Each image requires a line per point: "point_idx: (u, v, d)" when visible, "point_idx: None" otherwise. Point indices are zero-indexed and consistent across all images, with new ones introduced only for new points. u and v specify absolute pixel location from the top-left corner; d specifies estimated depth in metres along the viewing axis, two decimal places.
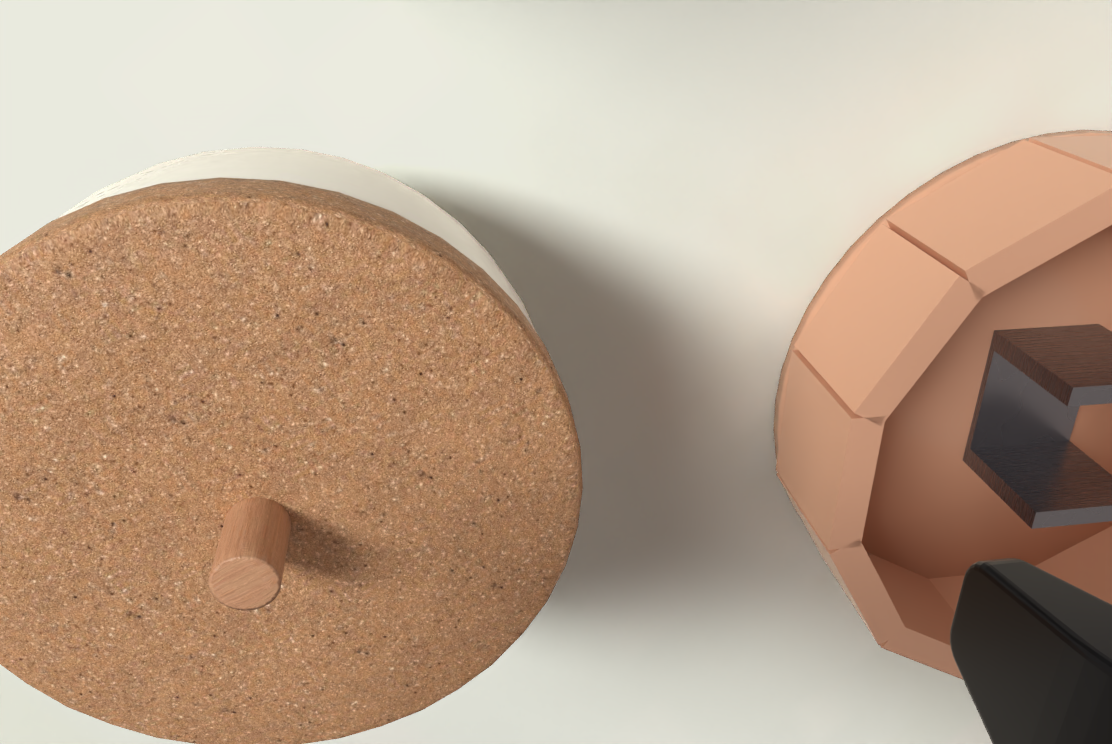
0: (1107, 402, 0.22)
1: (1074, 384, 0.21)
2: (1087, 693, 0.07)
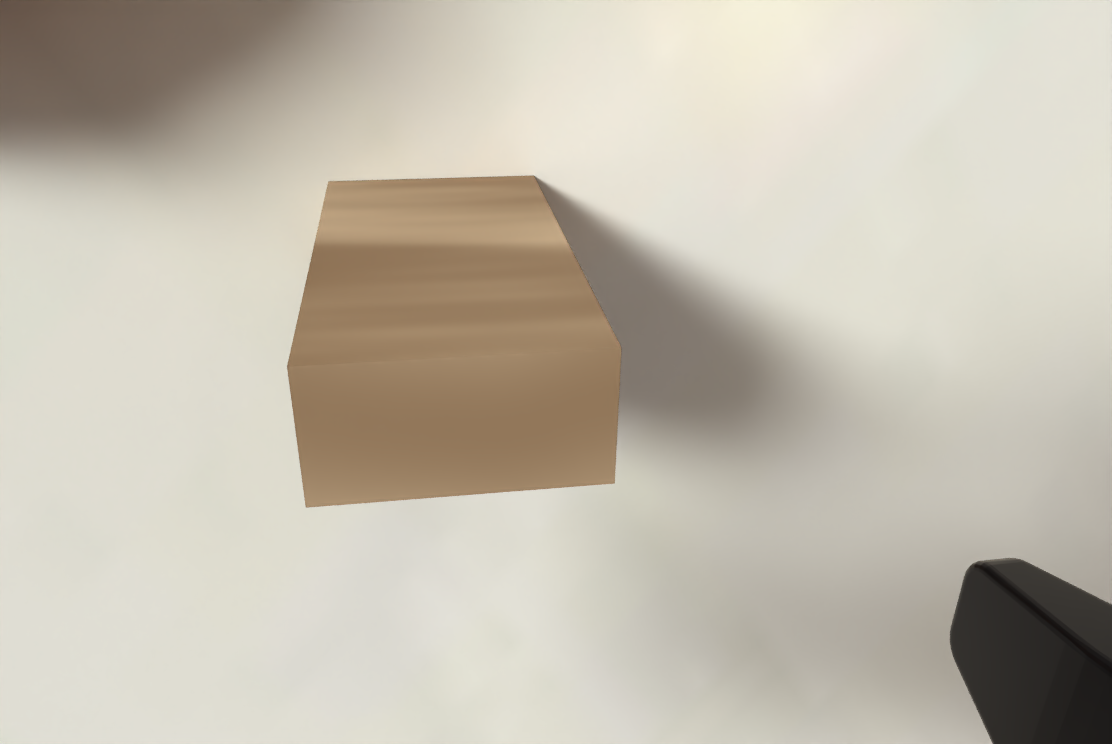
0: None
1: None
2: (1086, 693, 0.07)
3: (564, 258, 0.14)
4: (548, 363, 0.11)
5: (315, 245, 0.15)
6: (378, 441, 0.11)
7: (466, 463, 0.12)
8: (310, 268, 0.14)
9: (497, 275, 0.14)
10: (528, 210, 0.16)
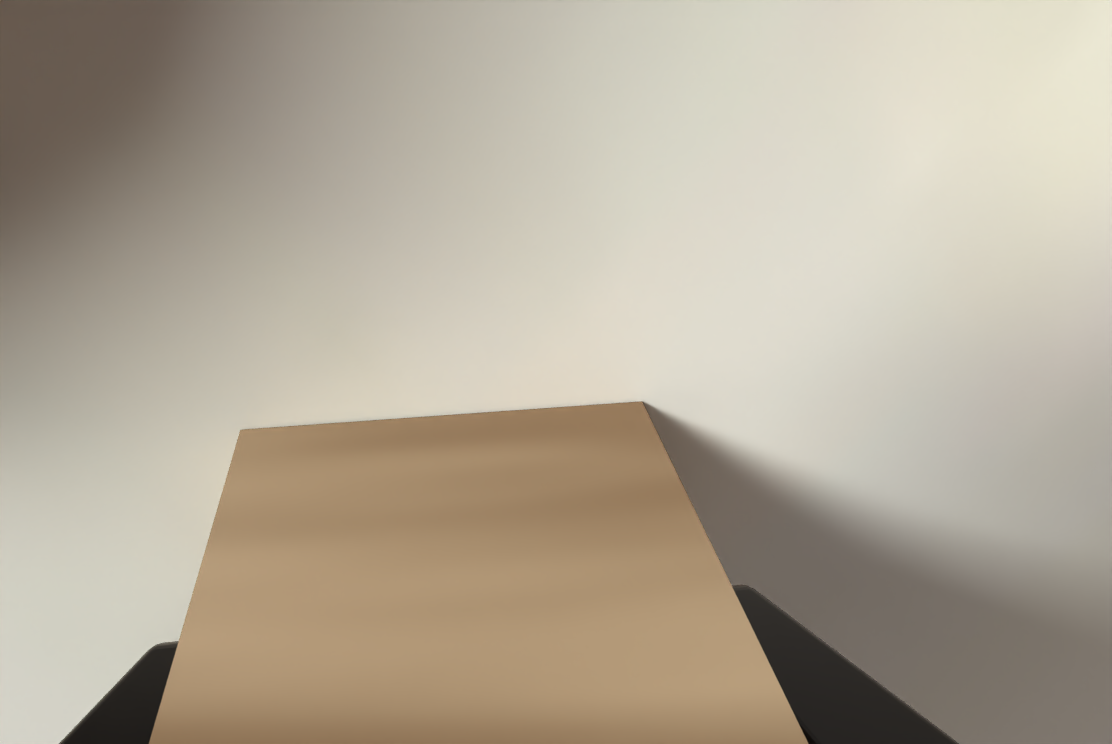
0: None
1: None
2: None
3: None
4: None
5: (154, 736, 0.06)
6: None
7: None
8: None
9: None
10: (658, 538, 0.07)
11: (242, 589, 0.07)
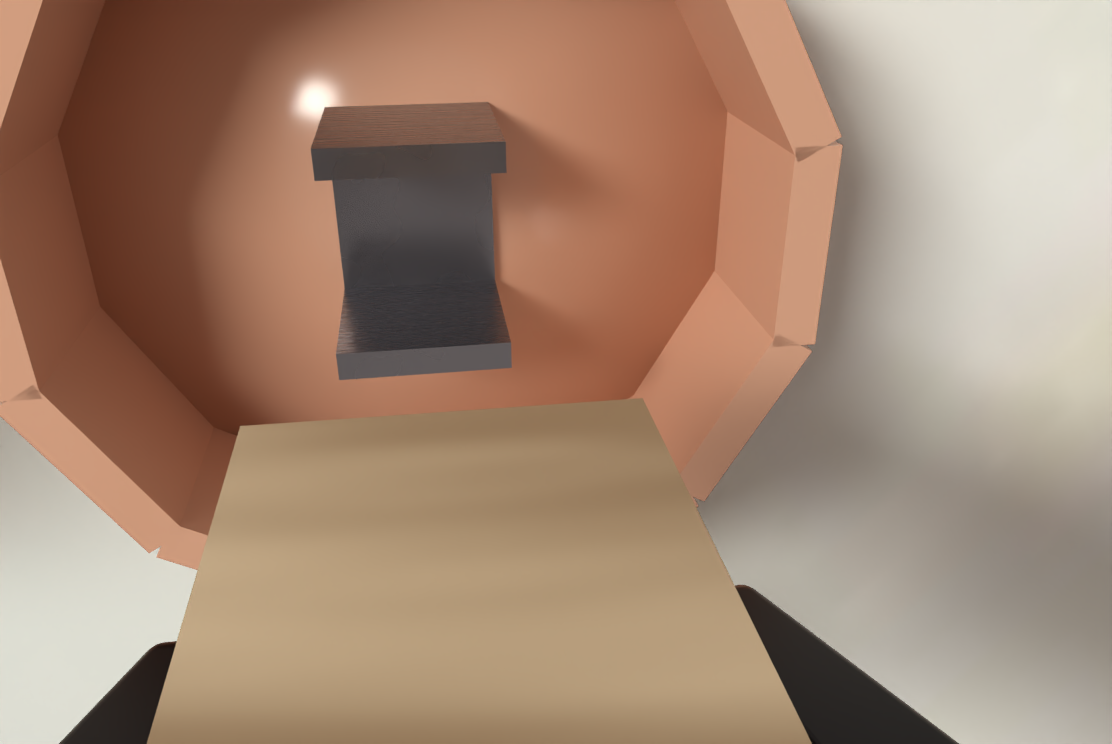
0: (384, 177, 0.15)
1: (321, 146, 0.14)
2: None
3: None
4: None
5: (153, 731, 0.06)
6: None
7: None
8: None
9: None
10: (659, 533, 0.07)
11: (242, 584, 0.07)
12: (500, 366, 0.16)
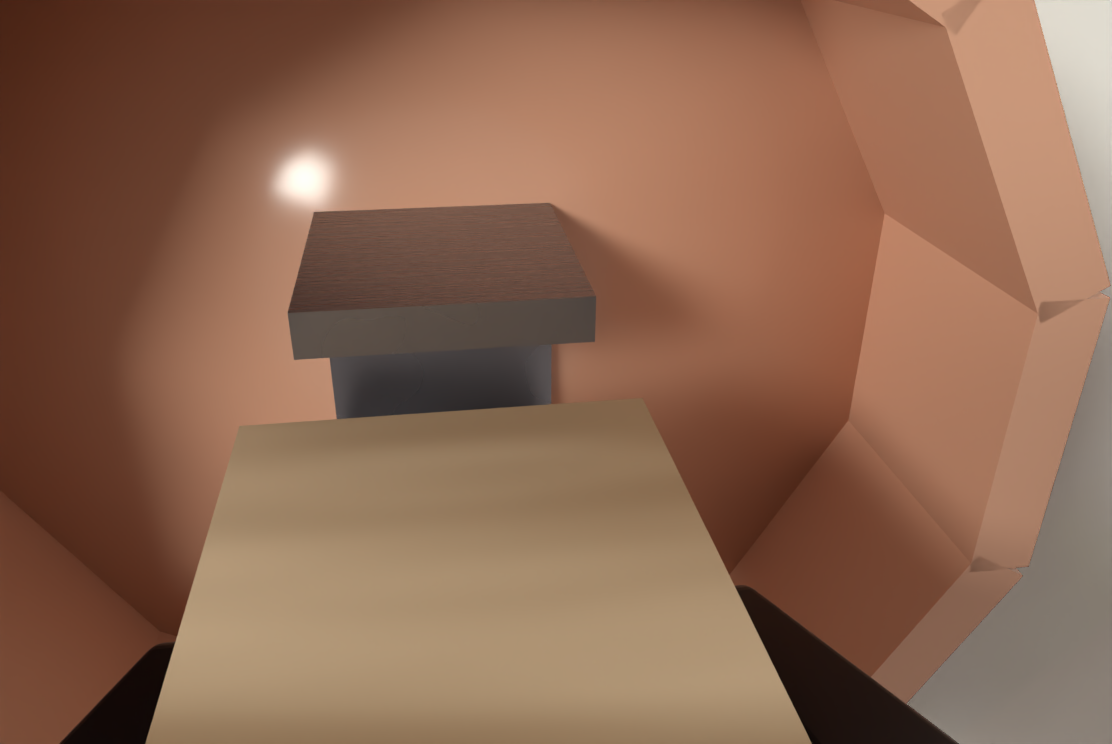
0: (405, 351, 0.09)
1: (304, 306, 0.09)
2: None
3: None
4: None
5: (152, 731, 0.06)
6: None
7: None
8: None
9: None
10: (660, 534, 0.07)
11: (241, 585, 0.07)
12: None
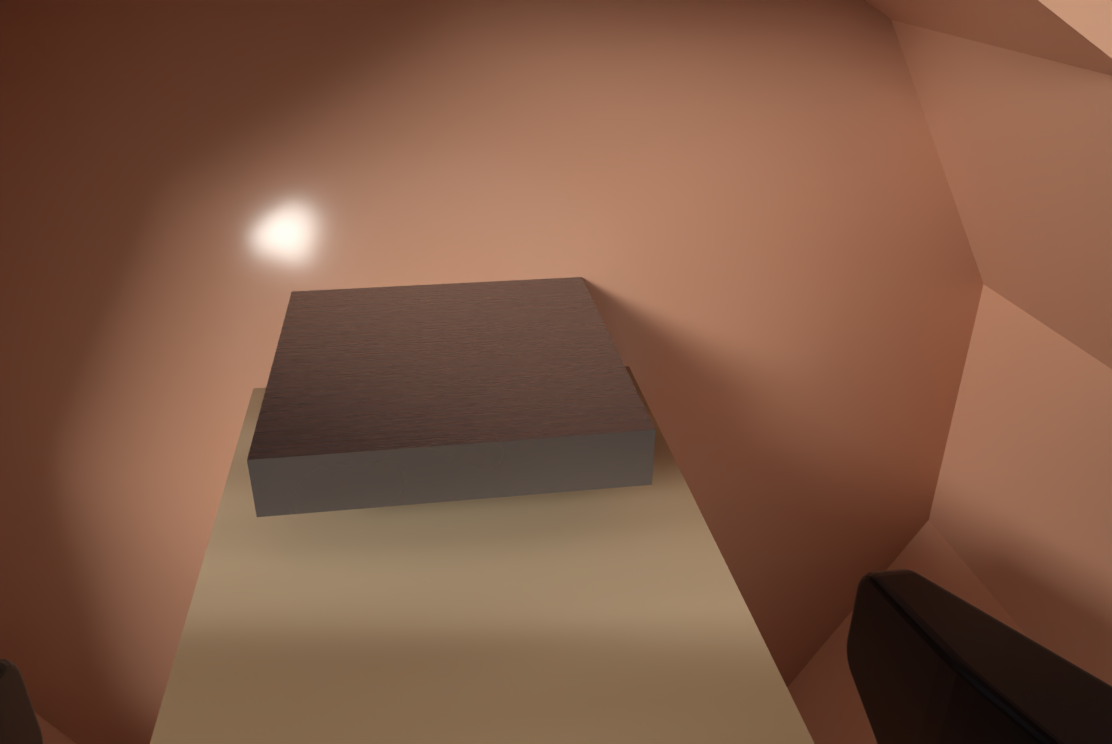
0: (403, 500, 0.07)
1: (270, 448, 0.07)
2: (958, 709, 0.07)
3: (764, 695, 0.06)
4: None
5: (182, 642, 0.06)
6: None
7: None
8: None
9: None
10: None
11: (258, 523, 0.08)
12: None
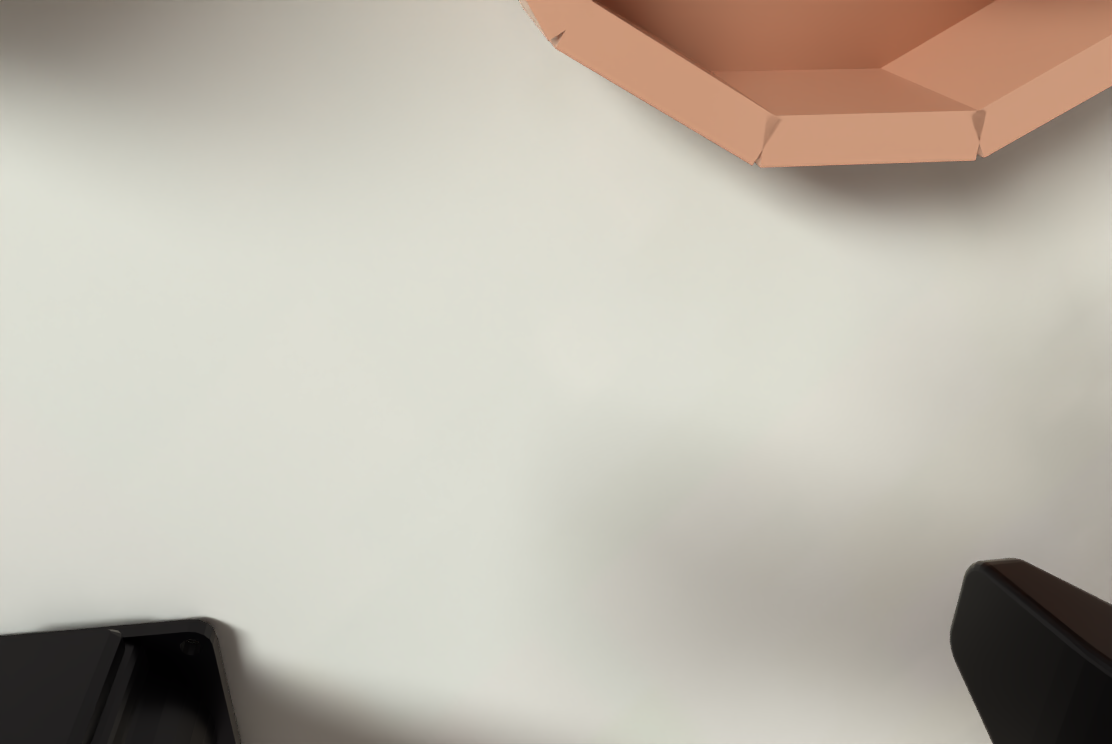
0: None
1: None
2: (1087, 693, 0.07)
3: None
4: None
5: None
6: None
7: None
8: None
9: None
10: None
11: None
12: None
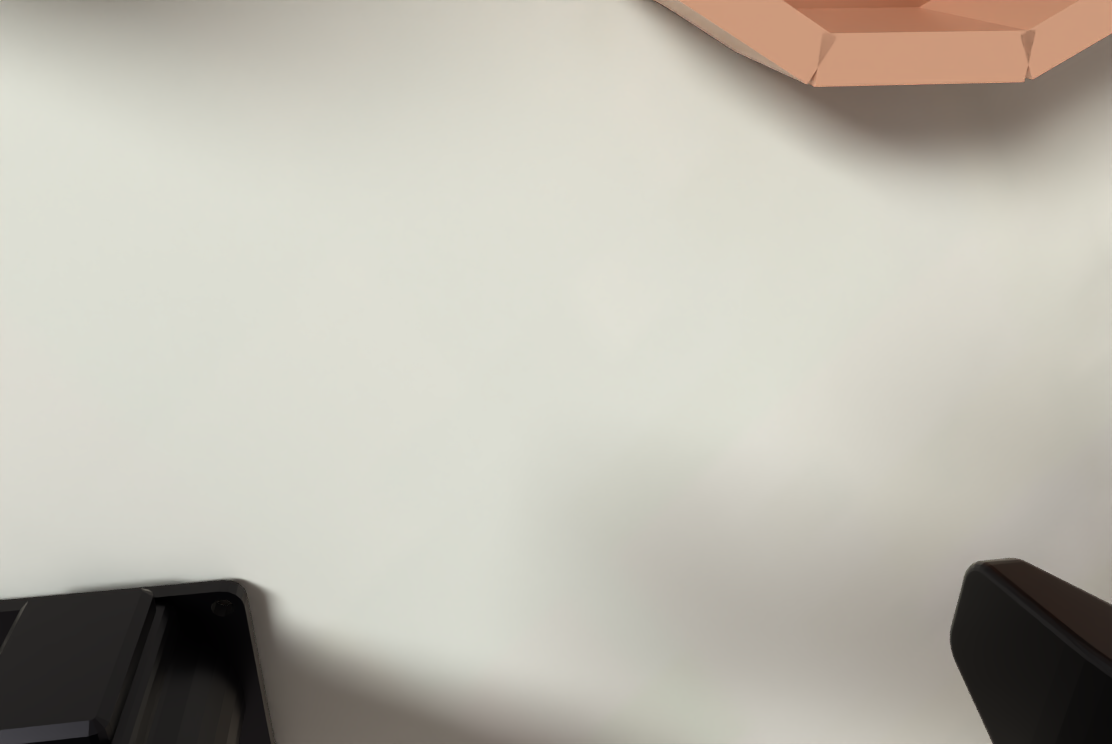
0: None
1: None
2: (1087, 693, 0.07)
3: None
4: None
5: None
6: None
7: None
8: None
9: None
10: None
11: None
12: None
